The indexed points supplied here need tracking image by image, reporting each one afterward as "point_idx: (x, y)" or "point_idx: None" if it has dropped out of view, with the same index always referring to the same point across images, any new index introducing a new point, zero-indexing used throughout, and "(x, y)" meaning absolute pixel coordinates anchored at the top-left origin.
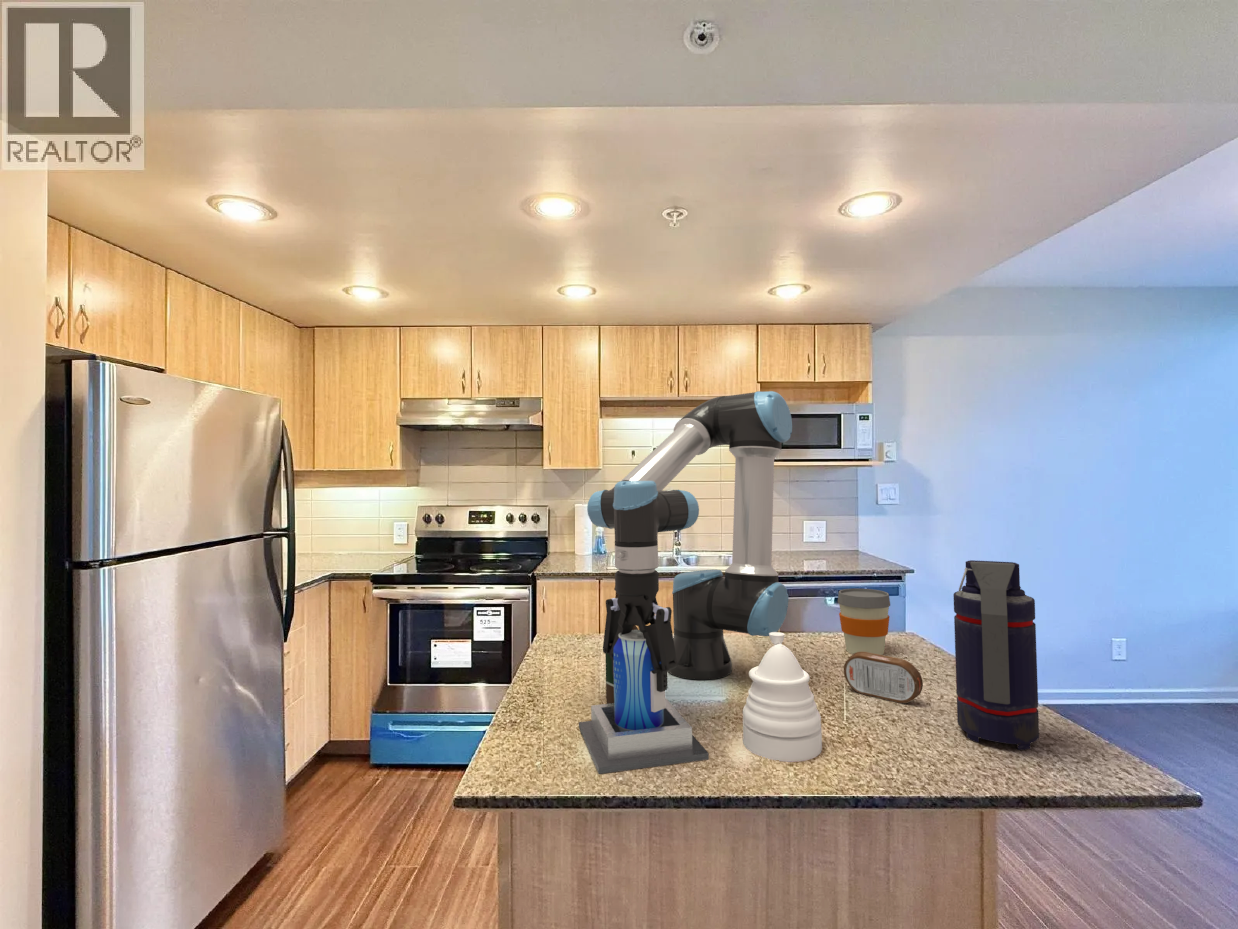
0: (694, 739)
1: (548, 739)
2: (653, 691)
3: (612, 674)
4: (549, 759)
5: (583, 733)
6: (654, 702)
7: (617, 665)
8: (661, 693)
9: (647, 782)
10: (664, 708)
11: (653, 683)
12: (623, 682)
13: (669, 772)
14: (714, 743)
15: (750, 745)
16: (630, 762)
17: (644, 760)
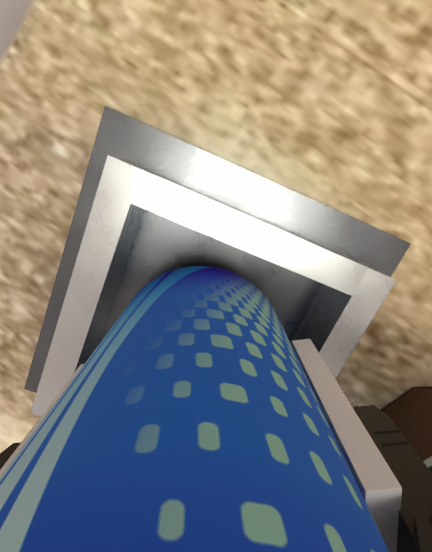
0: None
1: (406, 115)
2: (39, 424)
3: (381, 412)
4: (285, 35)
5: (332, 208)
6: (63, 390)
7: (186, 417)
8: None
9: (5, 194)
10: None
11: (11, 460)
12: (139, 349)
13: (24, 271)
14: None
15: None
16: (81, 204)
17: (71, 242)
